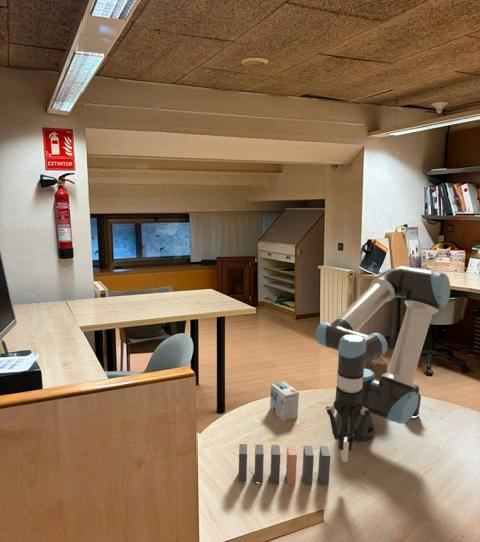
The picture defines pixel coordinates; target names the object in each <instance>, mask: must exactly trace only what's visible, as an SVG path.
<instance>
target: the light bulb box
mask: <svg viewBox="0 0 480 542" xmlns="http://www.w3.org/2000/svg"><path fill="white" fill-rule="evenodd" d="M299 396H300V394H299V391H298V390H296V389H295V388H294V387H293V386H291V385H290V384H288V383H287V382H286V381H280V382H275V383H272V384H270V402H269V409H270V410H271V411H272V412H273V413H274V414H275V413H276V414H275V415H276V416H278V418H280V419H281V420H282V421H283V422H285V421H289V420H292V419H297V418H298V413H299V400H300V399H299V398H300V397H299Z"/></svg>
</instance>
